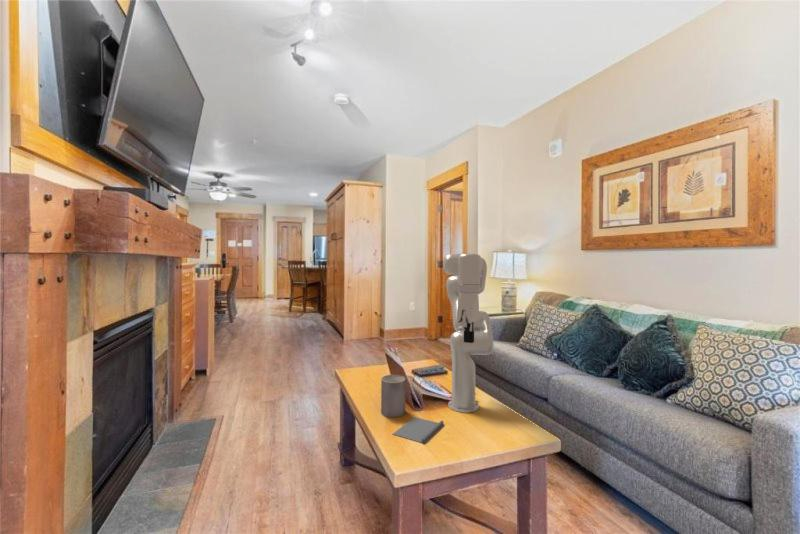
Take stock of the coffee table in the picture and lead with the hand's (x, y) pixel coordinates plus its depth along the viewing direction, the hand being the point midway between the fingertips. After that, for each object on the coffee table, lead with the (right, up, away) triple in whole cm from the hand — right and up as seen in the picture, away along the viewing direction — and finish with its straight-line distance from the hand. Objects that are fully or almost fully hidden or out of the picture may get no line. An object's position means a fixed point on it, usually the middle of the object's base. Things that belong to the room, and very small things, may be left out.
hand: (468, 342), depth 123 cm
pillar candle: (-27, -32, +18) cm, 46 cm away
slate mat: (-17, -32, +3) cm, 36 cm away
